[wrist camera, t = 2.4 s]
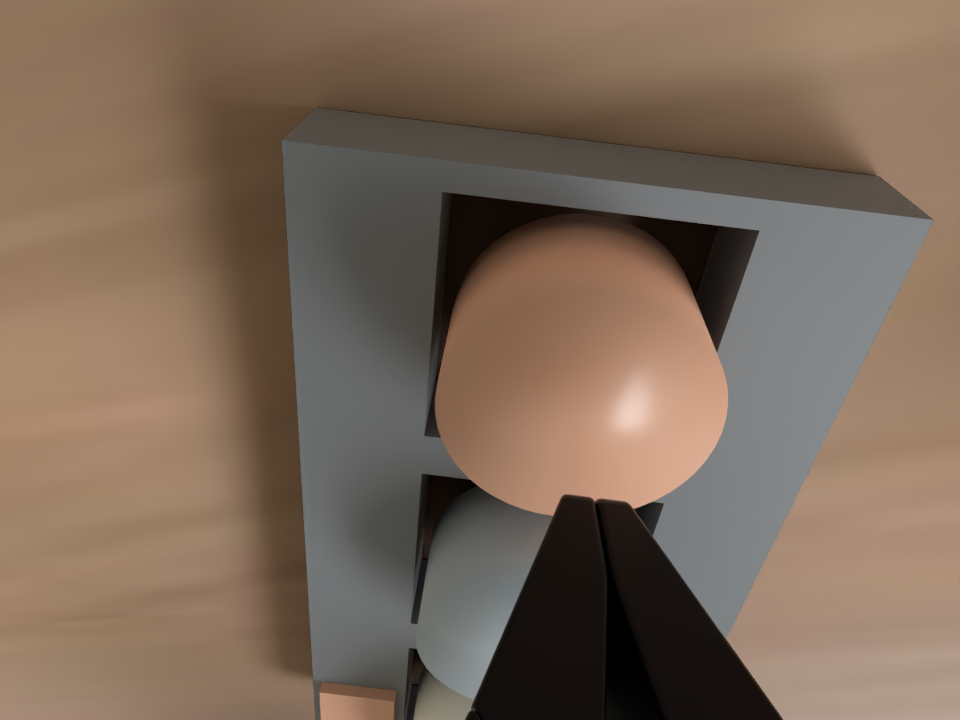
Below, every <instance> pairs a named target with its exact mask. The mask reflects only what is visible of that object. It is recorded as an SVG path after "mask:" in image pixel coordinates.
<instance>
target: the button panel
mask: <svg viewBox="0 0 960 720" xmlns="http://www.w3.org/2000/svg"><path fill="white" fill-rule="evenodd" d="M281 141H282V158H283V175H284V192H285V209H286V226H287V243H288V260H289V277H290V294H291V311H292V328H293V345H294V362H295V379H296V397H297V414H298V431H299V448H300V465H301V482H302V499H303V516H304V533H305V550H306V567H307V584H308V601H309V618H310V635H311V652H312V669H313V686H314V703H315V720H413V718H414V712H415V705H416V698H417V692H418V686H416V685H412V674H413V662H414V650H415V649H417V646H416V631H417V625H418V619H419V613H420V607H421V601H422V595H423V589H424V583H425V577H426V571H427V565H428V560H427V559H422V551H423V539H424V526H425V514H426V501H427V489H428V477H429V475H437V476H446V477H454V478H462V479H469V478H468V477H467V476H466V475H465V474H464V473H463V472H462V471H461V470H460V469H459V467H458V466H457V465H456V464H455V462H454V461H453V459H452V458H451V456H450V455H449V453H448V451H447V450H446V448H445V446H444V444H443V442H442V439H441V436H440V433H439V430H438V427H437V421H436V415H435V395H436V389H437V383H438V378H437V366H438V353H439V341H440V329H441V316H442V304H443V292H444V279H445V267H446V255H447V242H448V230H449V218H450V205H451V193H456V194H464V195H473V196H481V197H489V198H497V199H505V200H513V201H522V202H530V203H538V204H546V205H554V206H562V207H571V208H579V209H587V210H595V211H603V212H612V213H620V214H628V215H636V216H644V217H652V218H661V219H669V220H677V221H685V222H693V223H701V224H710V225H718V227H717V230H716V233H715V237H714V240H713V243H712V246H711V249H710V253H709V256H708V259H707V262H706V265H705V269H704V272H703V275H702V278H701V281H700V285H699V288H698V291H697V294H696V297H695V299H696V302H697V304H698V307H699V310H700V312H701V315H702V317H703V320H704V322H705V325H706V327H707V330H708V332H709V335H710V337H711V340H712V342H713V345H714V347H715V350H716V352H717V355H718V357H719V360H720V362H721V365H722V367H723V370H724V373H725V378H726V382H727V387H728V409H727V417H726V421H725V424H724V428H723V431H722V434H721V436H720V438H719V440H718V442H717V444H716V446H715V448H714V450H713V451H712V453H711V454H710V456H709V457H708V459H707V460H706V461H705V462H704V463H703V465H702V466H701V467H700V468H699V469H698V470H697V471H696V472H695V473H694V474H693V475H692V476H691V477H690V478H689V479H688V480H686V481H685V482H684V483H683V484H681V485H680V486H679V487H677V488H676V489H674V490H673V491H671V492H670V493H668V494H666V495H664V496H663V497H661V498H659V499H657V500H655V501H653V502H650V503H648V504H646V505H643V506H641V507H638V508H635V509H634V510H635V512H636V513H637V515H638V516H639V517H640V519H641V520H642V522H643V523H644V524H645V526H646V527H647V529H648V530H649V532H650V533H651V534H652V536H653V537H654V539H655V540H656V541H657V543H658V544H659V546H660V547H661V548H662V550H663V551H664V553H665V554H666V555H667V557H668V558H669V560H670V561H671V562H672V564H673V565H674V567H675V568H676V569H677V571H678V572H679V574H680V575H681V577H682V578H683V579H684V581H685V582H686V584H687V585H688V586H689V588H690V589H691V591H692V592H693V593H694V595H695V596H696V598H697V599H698V600H699V602H700V603H701V605H702V606H703V607H704V609H705V610H706V612H707V613H708V615H709V616H710V617H711V619H712V620H713V622H714V623H715V624H716V626H717V627H718V629H719V630H720V631H721V633H722V634H723V636H724V637H725V638H727V636H728V634H729V632H730V630H731V628H732V626H733V624H734V622H735V620H736V618H737V616H738V614H739V612H740V610H741V608H742V606H743V604H744V602H745V599H746V597H747V595H748V593H749V591H750V589H751V587H752V585H753V583H754V581H755V579H756V577H757V575H758V573H759V571H760V569H761V567H762V565H763V563H764V561H765V559H766V557H767V555H768V553H769V551H770V549H771V547H772V545H773V543H774V541H775V539H776V537H777V535H778V533H779V531H780V529H781V527H782V525H783V523H784V521H785V519H786V517H787V515H788V513H789V511H790V509H791V507H792V505H793V503H794V501H795V499H796V497H797V495H798V493H799V491H800V489H801V487H802V485H803V483H804V481H805V479H806V476H807V474H808V472H809V470H810V468H811V466H812V464H813V462H814V460H815V458H816V456H817V454H818V452H819V450H820V448H821V446H822V444H823V442H824V440H825V438H826V436H827V434H828V432H829V430H830V428H831V426H832V424H833V422H834V420H835V418H836V416H837V414H838V412H839V410H840V408H841V406H842V404H843V402H844V400H845V398H846V396H847V394H848V392H849V390H850V388H851V386H852V384H853V382H854V380H855V378H856V376H857V374H858V372H859V370H860V368H861V366H862V364H863V362H864V360H865V358H866V356H867V354H868V351H869V349H870V347H871V345H872V343H873V341H874V339H875V337H876V335H877V333H878V331H879V329H880V327H881V325H882V323H883V321H884V319H885V317H886V315H887V313H888V311H889V309H890V307H891V305H892V303H893V301H894V299H895V297H896V295H897V293H898V291H899V289H900V287H901V285H902V283H903V281H904V279H905V277H906V275H907V273H908V271H909V269H910V267H911V265H912V263H913V261H914V259H915V257H916V255H917V253H918V251H919V249H920V247H921V245H922V243H923V241H924V239H925V237H926V235H927V233H928V231H929V228H930V226H931V224H932V222H933V219H932V218H930V217H929V216H928V215H927V214H925V213H924V212H923V211H922V210H921V209H919V208H918V207H917V206H916V205H914V204H913V203H912V202H911V201H909V200H908V199H907V198H906V197H904V196H903V195H902V194H901V193H899V192H898V191H897V190H896V189H894V188H893V187H892V186H891V185H890V184H888V183H887V182H886V181H885V180H883V179H882V178H881V177H879V176H871V175H863V174H855V173H847V172H839V171H830V170H822V169H814V168H806V167H798V166H789V165H781V164H773V163H765V162H757V161H749V160H740V159H732V158H724V157H716V156H708V155H700V154H691V153H683V152H675V151H667V150H659V149H650V148H642V147H634V146H626V145H618V144H610V143H601V142H593V141H585V140H577V139H569V138H561V137H552V136H544V135H536V134H528V133H520V132H511V131H503V130H495V129H487V128H479V127H471V126H462V125H454V124H446V123H438V122H430V121H422V120H413V119H405V118H397V117H389V116H381V115H372V114H364V113H356V112H348V111H340V110H332V109H323V108H315V109H314V110H313V111H312V112H311V113H310V114H309V115H308V116H307V117H306V118H305V119H304V120H303V121H301V122H300V123H299V124H298V125H297V126H296V127H295V128H294V129H293V130H292V131H291V132H290V133H289V134H288V135H287V136H285V137H284V138H283V139H282V140H281Z"/></svg>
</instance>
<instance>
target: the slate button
mask: <svg viewBox="0 0 960 720" xmlns="http://www.w3.org/2000/svg"><path fill="white" fill-rule="evenodd" d="M552 517H553V516H550V515H545V514H539V513H535V512H531V511H528V510H524V509H521V508H518V507H516V506H513V505H510V504H508V503H506V502H504V501H502V500H500V499H498V498H496V497H494V496H492V495H491V494H489V493H488V492H486V491H484V490H483V489H481V488H480V487H479V486H476V487H474V488H472V489H470V490H468V491H466V492H464V493H463V494H461V495H460V496H458V497H456V498H455V499H454V500H453V501H452V502H451V503H449V504H448V505H447V506H446V508H445V509H444V510H443V511H442V512H441V514H440V516H439V517H438V519H437V521H436V524H435V526H434V529H433V535H432V540H431V546H430V553H429V559H428V565H427V571H426V577H425V583H424V589H423V595H422V601H421V607H420V613H419V619H418V625H417V631H416V646H417V650H418V654H419V656H420V658H421V660H422V662H423V663H424V665H425V666H426V668H427V669H428V670H429V671H430V673H431V674H432V675H433V676H434V677H435V678H437V679H438V680H439V681H440V682H441V683H443V684H444V685H446V686H447V687H449V688H450V689H452V690H453V691H455V692H457V693H459V694H461V695H463V696H466V697H468V698H470V699H473V700H474V699H475V696H476V694H477V692H478V689H479V687H480V685H481V682H482V680H483V678H484V675H485V673H486V671H487V668H488V666H489V664H490V661H491V659H492V657H493V654H494V652H495V650H496V647H497V645H498V643H499V640H500V638H501V636H502V633H503V631H504V629H505V626H506V624H507V622H508V619H509V617H510V615H511V612H512V610H513V608H514V605H515V603H516V601H517V598H518V596H519V594H520V591H521V589H522V587H523V585H524V582H525V580H526V578H527V575H528V573H529V571H530V568H531V566H532V564H533V561H534V559H535V557H536V554H537V552H538V550H539V547H540V545H541V543H542V540H543V538H544V536H545V533H546V531H547V529H548V526H549V524H550V522H551V519H552Z"/></svg>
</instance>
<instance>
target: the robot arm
mask: <svg viewBox="0 0 960 720" xmlns="http://www.w3.org/2000/svg"><path fill="white" fill-rule="evenodd" d="M465 720H783V719H782V717H781V716H780V714H779V713H778V712H777V710H776V709H775V707H774V706H773V705H772V703H771V702H770V700H769V699H768V698H767V696H766V695H765V693H764V692H763V690H762V689H761V688H760V686H759V685H758V683H757V682H756V681H755V679H754V678H753V676H752V675H751V674H750V672H749V671H748V669H747V668H746V667H745V665H744V664H743V662H742V661H741V660H740V658H739V657H738V655H737V654H736V652H735V651H734V650H733V648H732V647H731V645H730V644H729V643H728V641H727V640H726V638H725V637H724V636H723V634H722V633H721V631H720V630H719V629H718V627H717V626H716V624H715V623H714V622H713V620H712V619H711V617H710V616H709V615H708V613H707V612H706V610H705V609H704V607H703V606H702V605H701V603H700V602H699V600H698V599H697V598H696V596H695V595H694V593H693V592H692V591H691V589H690V588H689V586H688V585H687V584H686V582H685V581H684V579H683V578H682V577H681V575H680V574H679V572H678V571H677V569H676V568H675V567H674V565H673V564H672V562H671V561H670V560H669V558H668V557H667V555H666V554H665V553H664V551H663V550H662V548H661V547H660V546H659V544H658V543H657V541H656V540H655V539H654V537H653V536H652V534H651V533H650V532H649V530H648V529H647V527H646V526H645V524H644V523H643V522H642V520H641V519H640V517H639V516H638V515H637V513H636V512H635V510H634V509H633V508H632V506H631V505H630V504H629V503H627V502H625V501H620V500H612V499H603V498H599V499H597V500H596V501H594V499H593V498H591V497H587V496H579V495H571V494H565V495H563V496H562V497H561V499H560V501H559V503H558V505H557V508H556V510H555V512H554V515H553V517H552V519H551V522H550V524H549V526H548V529H547V531H546V533H545V536H544V538H543V540H542V543H541V545H540V547H539V550H538V552H537V554H536V557H535V559H534V561H533V564H532V566H531V568H530V571H529V573H528V575H527V578H526V580H525V582H524V585H523V587H522V589H521V591H520V594H519V596H518V598H517V601H516V603H515V605H514V608H513V610H512V612H511V615H510V617H509V619H508V622H507V624H506V626H505V629H504V631H503V633H502V636H501V638H500V640H499V643H498V645H497V647H496V650H495V652H494V654H493V657H492V659H491V661H490V664H489V666H488V668H487V671H486V673H485V675H484V678H483V680H482V682H481V685H480V687H479V689H478V692H477V694H476V696H475V699H474V701H473V703H472V706H471V711H469V712H468V714H467V716H466V718H465Z"/></svg>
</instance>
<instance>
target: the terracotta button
mask: <svg viewBox="0 0 960 720" xmlns="http://www.w3.org/2000/svg"><path fill="white" fill-rule="evenodd" d="M727 409H728V387H727V382H726V378H725V373H724V370H723V367H722V365H721V362H720V360H719V357H718V355H717V352H716V350H715V347H714V345H713V342H712V340H711V337H710V335H709V332H708V330H707V327H706V325H705V322H704V320H703V317H702V315H701V312H700V310H699V307H698V304H697V302H696V299H695V297H694V294H693V292H692V289H691V287H690V284H689V282H688V279H687V277H686V275H685V273H684V271H683V269H682V268H681V266H680V264H679V263H678V261H677V260H676V259H675V258H674V256H673V255H672V254H671V253H670V252H669V250H668V249H667V248H665V247H664V246H663V245H662V244H661V243H660V242H659V241H658V240H656V239H655V238H653V237H652V236H650V235H649V234H647V233H646V232H644V231H643V230H641V229H639V228H637V227H635V226H632V225H630V224H628V223H626V222H622V221H619V220H616V219H613V218H609V217H604V216H598V215H590V214H566V215H556V216H551V217H546V218H541V219H538V220H535V221H532V222H529V223H526V224H524V225H522V226H519V227H517V228H515V229H513V230H511V231H509V232H508V233H506V234H504V235H503V236H501V237H500V238H498V239H497V240H495V241H494V242H493V243H492V244H491V245H489V246H488V247H487V248H486V249H485V250H484V251H483V252H482V253H481V254H480V255H479V256H478V257H477V258H476V259H475V260H474V262H473V263H472V265H471V266H470V268H469V269H468V270H467V272H466V273H465V275H464V277H463V279H462V281H461V283H460V285H459V288H458V291H457V294H456V297H455V301H454V306H453V310H452V315H451V320H450V325H449V330H448V335H447V339H446V344H445V349H444V354H443V359H442V364H441V368H440V373H439V378H438V383H437V389H436V395H435V415H436V421H437V427H438V430H439V433H440V436H441V439H442V442H443V444H444V446H445V448H446V450H447V451H448V453H449V455H450V456H451V458H452V459H453V461H454V462H455V464H456V465H457V466H458V467H459V469H460V470H461V471H462V472H463V473H464V474H465V475H466V476H467V477H468V478H469V479H470V480H471V481H473V482H474V483H475V484H476V485H477V486H479V487H480V488H481V489H483V490H484V491H486V492H488V493H489V494H491V495H492V496H494V497H496V498H498V499H500V500H502V501H504V502H506V503H508V504H510V505H513V506H516V507H518V508H521V509H524V510H528V511H531V512H535V513H539V514H545V515H550V516H553V515H554V512H555V510H556V508H557V505H558V503H559V501H560V499H561V497H562V496H563V495H565V494H571V495H579V496H587V497H591V498H593V499H594V501H596V500H597V499H599V498H603V499H612V500H620V501H625V502H627V503H629V504H630V505H631V506H632V508H633V509H635V508H638V507H641V506H643V505H646V504H648V503H650V502H653V501H655V500H657V499H659V498H661V497H663V496H664V495H666V494H668V493H670V492H671V491H673V490H674V489H676V488H677V487H679V486H680V485H681V484H683V483H684V482H685V481H686V480H688V479H689V478H690V477H691V476H692V475H693V474H694V473H695V472H696V471H697V470H698V469H699V468H700V467H701V466H702V465H703V463H704V462H705V461H706V460H707V459H708V457H709V456H710V454H711V453H712V451H713V450H714V448H715V446H716V444H717V442H718V440H719V438H720V436H721V434H722V431H723V428H724V424H725V421H726V417H727Z"/></svg>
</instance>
